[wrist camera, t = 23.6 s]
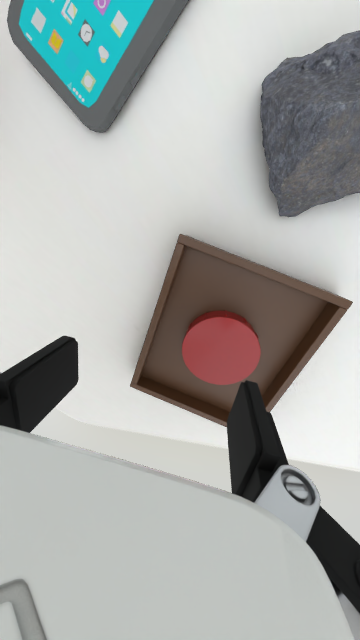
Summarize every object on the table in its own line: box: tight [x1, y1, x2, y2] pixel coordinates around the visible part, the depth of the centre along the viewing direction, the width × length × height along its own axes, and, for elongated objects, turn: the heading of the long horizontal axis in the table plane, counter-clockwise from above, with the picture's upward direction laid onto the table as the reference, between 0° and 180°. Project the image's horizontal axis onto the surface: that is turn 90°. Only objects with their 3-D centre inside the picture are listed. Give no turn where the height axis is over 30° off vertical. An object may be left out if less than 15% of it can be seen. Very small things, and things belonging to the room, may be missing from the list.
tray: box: [130, 234, 353, 427], centre depth 18 cm, size 15×13×2 cm
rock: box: [261, 31, 360, 217], centre depth 10 cm, size 9×6×10 cm
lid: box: [182, 310, 261, 385], centre depth 18 cm, size 7×7×2 cm
